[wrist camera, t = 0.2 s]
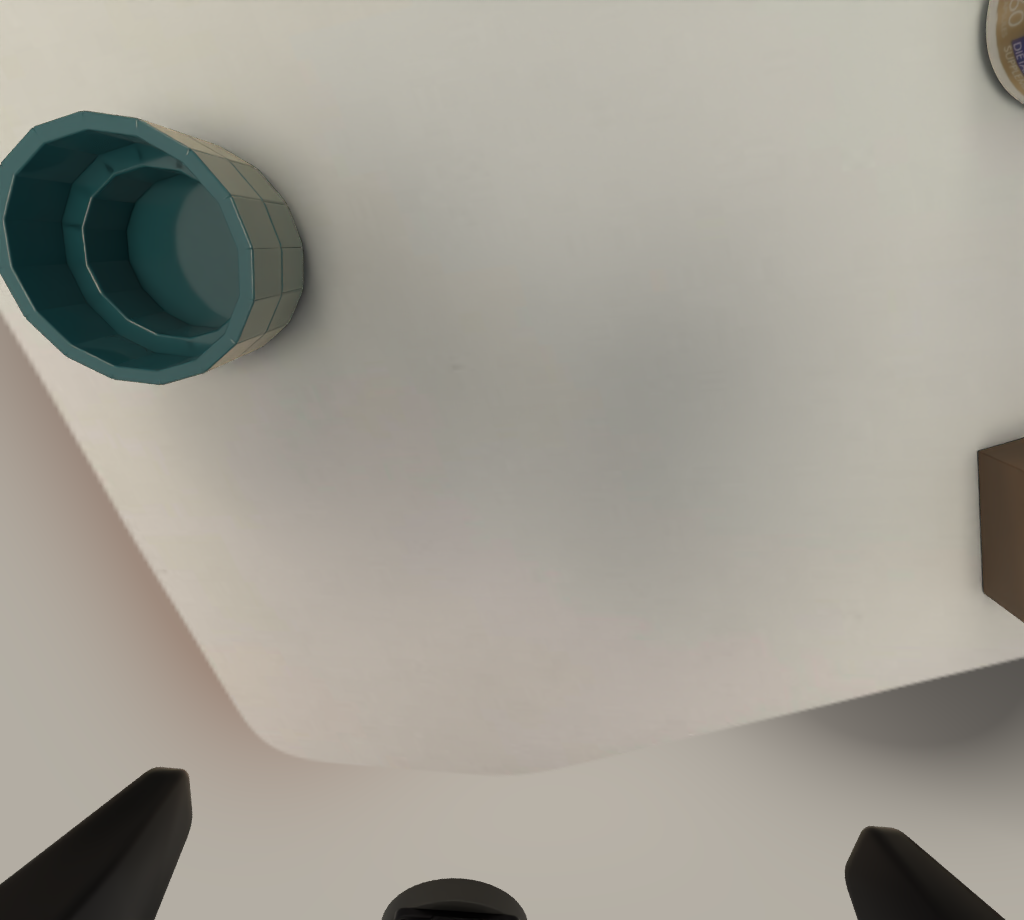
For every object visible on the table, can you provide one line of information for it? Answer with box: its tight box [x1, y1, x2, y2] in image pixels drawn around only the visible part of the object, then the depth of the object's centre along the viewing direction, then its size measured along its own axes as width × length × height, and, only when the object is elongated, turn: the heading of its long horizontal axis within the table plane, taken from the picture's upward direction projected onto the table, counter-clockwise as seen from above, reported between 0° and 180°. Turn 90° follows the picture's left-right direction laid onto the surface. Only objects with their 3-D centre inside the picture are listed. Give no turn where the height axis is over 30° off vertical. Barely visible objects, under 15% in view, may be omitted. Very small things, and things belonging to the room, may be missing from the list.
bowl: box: [0, 111, 303, 385], centre depth 17 cm, size 6×6×4 cm
